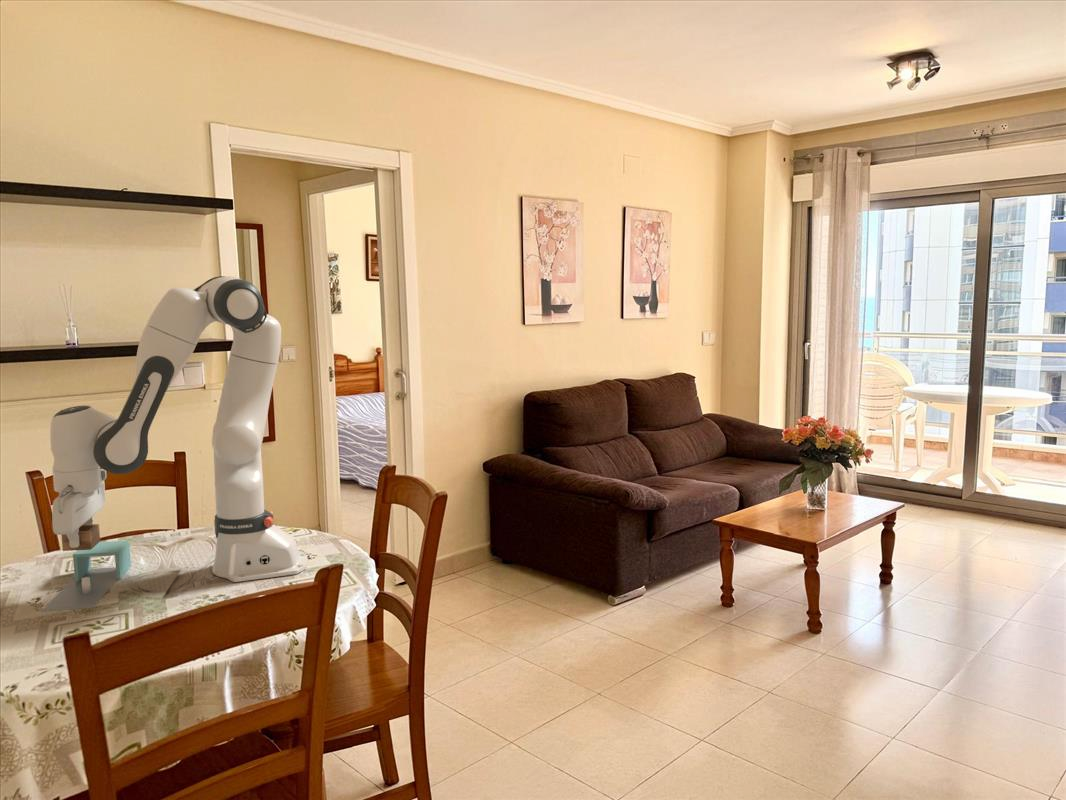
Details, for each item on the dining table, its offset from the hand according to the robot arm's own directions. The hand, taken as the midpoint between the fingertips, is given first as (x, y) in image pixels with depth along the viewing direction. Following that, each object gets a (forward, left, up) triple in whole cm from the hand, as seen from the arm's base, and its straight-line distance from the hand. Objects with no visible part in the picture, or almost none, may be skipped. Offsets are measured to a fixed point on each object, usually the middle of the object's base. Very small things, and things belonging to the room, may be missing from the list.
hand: (81, 541), depth 166 cm
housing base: (+1, -4, -13) cm, 14 cm away
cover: (0, -11, -12) cm, 16 cm away
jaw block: (0, 0, -1) cm, 1 cm away
